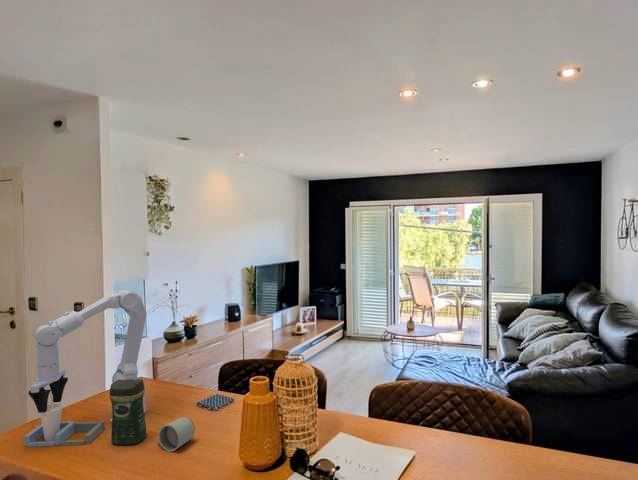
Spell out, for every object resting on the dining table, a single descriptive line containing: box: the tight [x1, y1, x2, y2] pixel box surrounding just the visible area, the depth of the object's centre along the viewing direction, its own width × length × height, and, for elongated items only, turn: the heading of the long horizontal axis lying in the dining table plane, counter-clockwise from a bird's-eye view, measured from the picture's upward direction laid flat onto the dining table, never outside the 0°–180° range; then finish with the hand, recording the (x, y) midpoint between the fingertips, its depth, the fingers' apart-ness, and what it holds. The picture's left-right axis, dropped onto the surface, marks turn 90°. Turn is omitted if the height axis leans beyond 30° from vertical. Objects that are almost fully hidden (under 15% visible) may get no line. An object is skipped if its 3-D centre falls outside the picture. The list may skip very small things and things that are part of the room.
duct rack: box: [23, 420, 106, 448], centre depth 133 cm, size 20×10×3 cm, turn 92°
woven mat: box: [195, 393, 235, 413], centre depth 156 cm, size 10×11×2 cm
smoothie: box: [38, 393, 64, 441], centre depth 133 cm, size 6×6×14 cm
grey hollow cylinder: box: [156, 416, 196, 453], centre depth 127 cm, size 11×8×8 cm
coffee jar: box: [109, 378, 147, 446], centre depth 131 cm, size 10×8×19 cm
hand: (50, 406), depth 133 cm, fingers open, 7 cm apart
